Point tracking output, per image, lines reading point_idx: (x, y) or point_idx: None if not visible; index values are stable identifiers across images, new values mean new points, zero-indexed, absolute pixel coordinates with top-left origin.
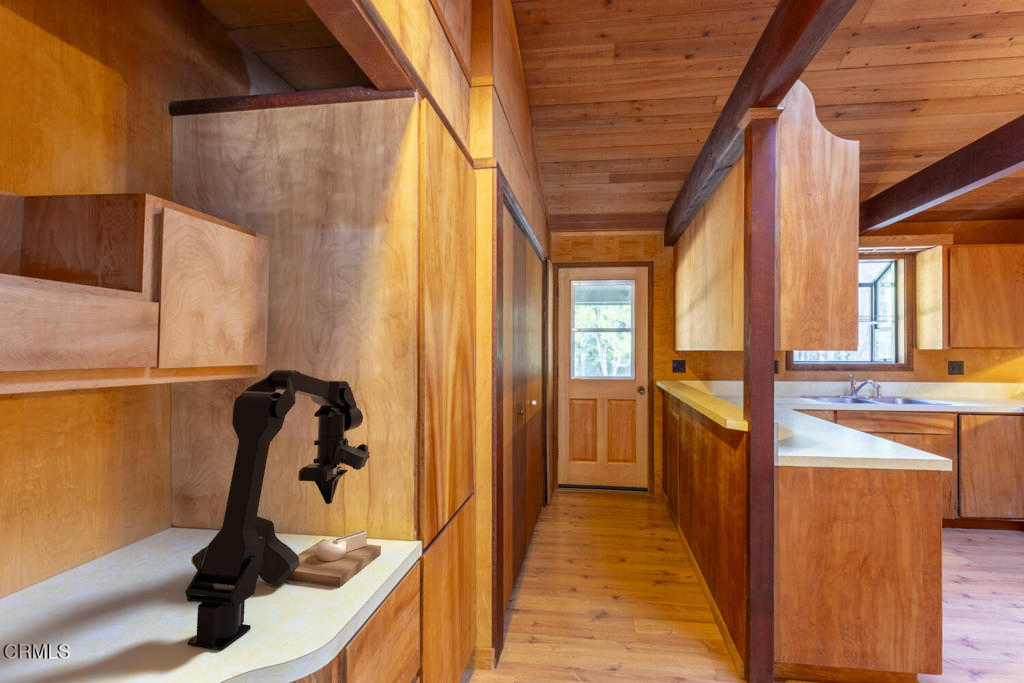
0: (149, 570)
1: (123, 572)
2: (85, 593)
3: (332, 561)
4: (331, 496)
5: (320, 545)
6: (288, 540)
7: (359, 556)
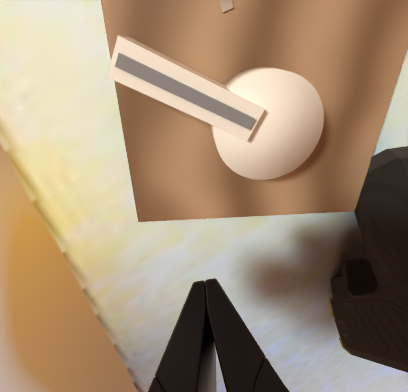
0: (316, 366)
1: (325, 380)
2: (388, 368)
3: None
4: (230, 314)
5: (290, 159)
6: (136, 297)
7: (235, 5)
